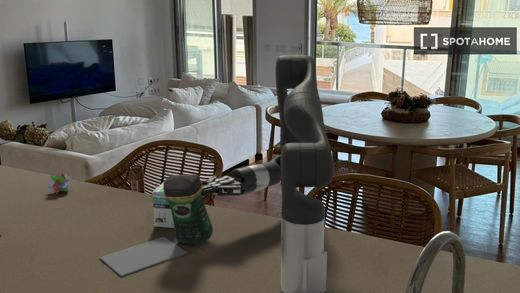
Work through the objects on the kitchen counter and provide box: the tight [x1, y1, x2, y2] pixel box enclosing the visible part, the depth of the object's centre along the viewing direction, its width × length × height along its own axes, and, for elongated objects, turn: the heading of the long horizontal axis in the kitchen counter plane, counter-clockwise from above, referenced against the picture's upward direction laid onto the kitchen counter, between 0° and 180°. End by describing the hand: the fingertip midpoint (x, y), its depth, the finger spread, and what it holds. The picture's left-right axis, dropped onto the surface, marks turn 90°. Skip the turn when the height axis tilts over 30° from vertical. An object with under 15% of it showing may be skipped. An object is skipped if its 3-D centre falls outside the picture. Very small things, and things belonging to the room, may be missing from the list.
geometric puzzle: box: [47, 172, 72, 196], centre depth 172 cm, size 7×7×8 cm
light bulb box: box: [151, 181, 175, 229], centre depth 148 cm, size 11×7×11 cm, turn 168°
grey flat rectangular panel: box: [99, 236, 188, 278], centre depth 128 cm, size 12×18×1 cm, turn 131°
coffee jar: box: [163, 173, 214, 245], centre depth 132 cm, size 10×8×19 cm
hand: (199, 192), depth 134 cm, fingers closed
